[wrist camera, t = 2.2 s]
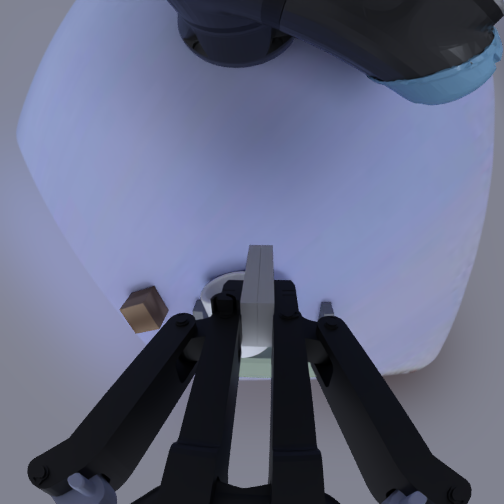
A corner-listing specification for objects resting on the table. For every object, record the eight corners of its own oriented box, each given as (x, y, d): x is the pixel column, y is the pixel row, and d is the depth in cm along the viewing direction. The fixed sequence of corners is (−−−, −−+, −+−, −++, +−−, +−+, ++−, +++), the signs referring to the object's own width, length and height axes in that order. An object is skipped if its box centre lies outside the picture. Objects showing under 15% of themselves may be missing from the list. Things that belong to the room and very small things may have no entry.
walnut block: (131, 292, 43) (119, 309, 38) (154, 285, 42) (142, 303, 37) (146, 315, 45) (135, 333, 40) (168, 309, 44) (159, 328, 39)
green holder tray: (197, 300, 42) (190, 316, 38) (330, 302, 41) (336, 319, 37) (207, 366, 49) (203, 383, 45) (317, 369, 48) (319, 386, 44)
